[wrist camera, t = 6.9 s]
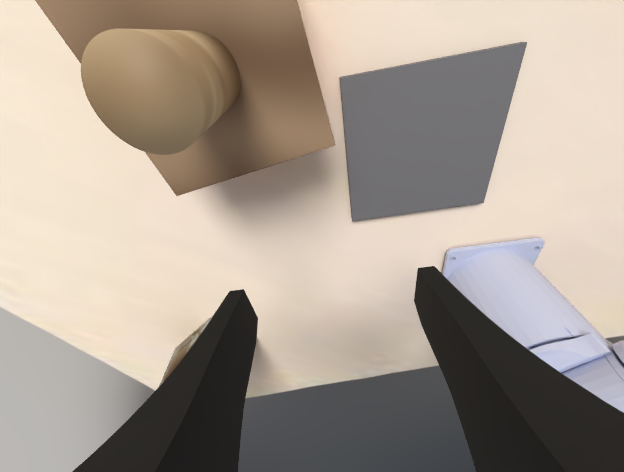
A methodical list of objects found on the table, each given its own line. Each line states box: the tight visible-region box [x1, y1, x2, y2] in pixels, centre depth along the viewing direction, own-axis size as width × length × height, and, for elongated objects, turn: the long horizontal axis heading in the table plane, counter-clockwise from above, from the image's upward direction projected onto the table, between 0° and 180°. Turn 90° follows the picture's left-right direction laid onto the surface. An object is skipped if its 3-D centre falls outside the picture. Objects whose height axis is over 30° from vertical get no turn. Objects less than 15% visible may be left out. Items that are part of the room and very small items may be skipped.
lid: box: [35, 0, 335, 196], centre depth 9 cm, size 9×9×6 cm
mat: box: [340, 42, 527, 221], centre depth 18 cm, size 10×10×1 cm
